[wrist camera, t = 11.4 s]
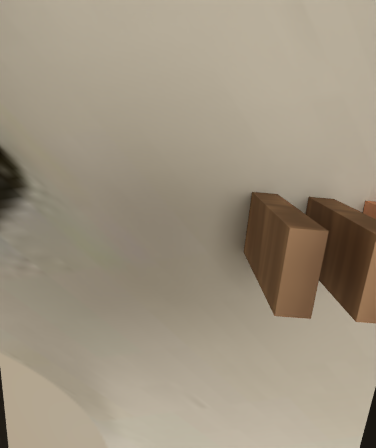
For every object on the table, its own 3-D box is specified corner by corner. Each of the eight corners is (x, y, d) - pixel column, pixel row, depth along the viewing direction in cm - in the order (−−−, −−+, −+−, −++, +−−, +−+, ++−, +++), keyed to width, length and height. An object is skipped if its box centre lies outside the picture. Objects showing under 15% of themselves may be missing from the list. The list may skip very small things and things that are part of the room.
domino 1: (243, 252, 29) (274, 315, 19) (252, 192, 27) (289, 227, 18) (267, 254, 29) (310, 318, 19) (277, 194, 27) (328, 231, 18)
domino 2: (297, 256, 29) (355, 321, 19) (308, 197, 28) (377, 234, 18) (321, 258, 29) (391, 324, 19) (333, 199, 28) (415, 238, 18)
